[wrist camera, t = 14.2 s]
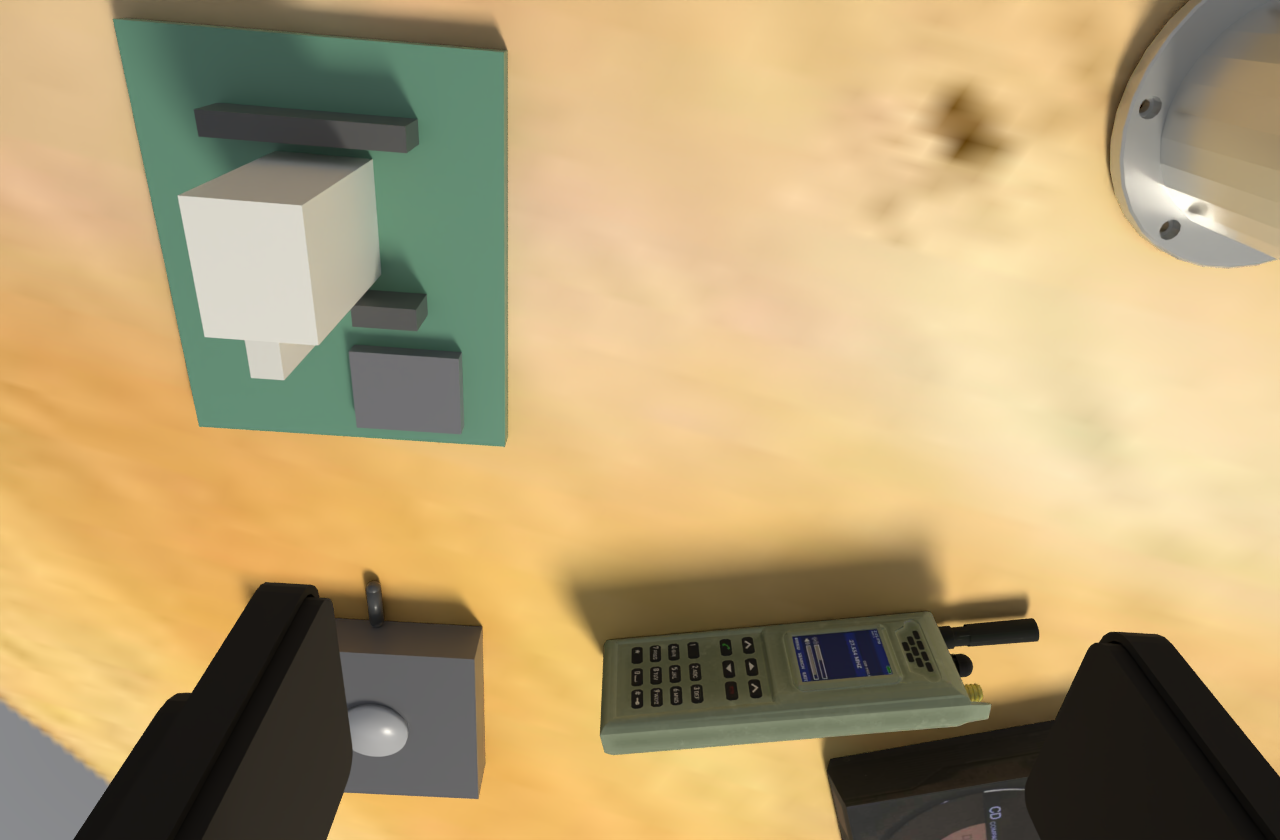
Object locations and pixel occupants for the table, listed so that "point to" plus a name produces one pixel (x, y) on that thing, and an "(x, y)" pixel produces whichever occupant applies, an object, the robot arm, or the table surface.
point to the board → (406, 215)
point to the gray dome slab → (413, 705)
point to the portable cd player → (940, 788)
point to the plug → (282, 252)
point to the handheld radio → (793, 681)
